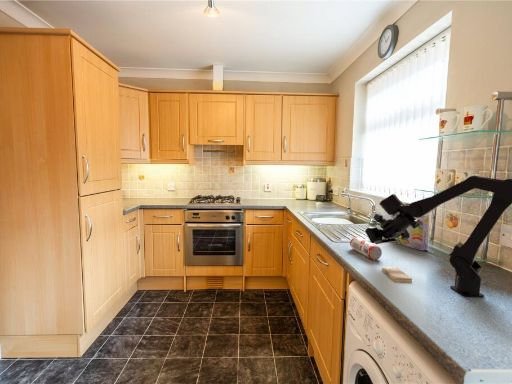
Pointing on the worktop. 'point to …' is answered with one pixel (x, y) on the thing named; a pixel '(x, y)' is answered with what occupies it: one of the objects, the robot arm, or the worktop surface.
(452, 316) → the worktop surface
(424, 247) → the cake pan box
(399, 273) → the chopping board
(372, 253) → the beer can
